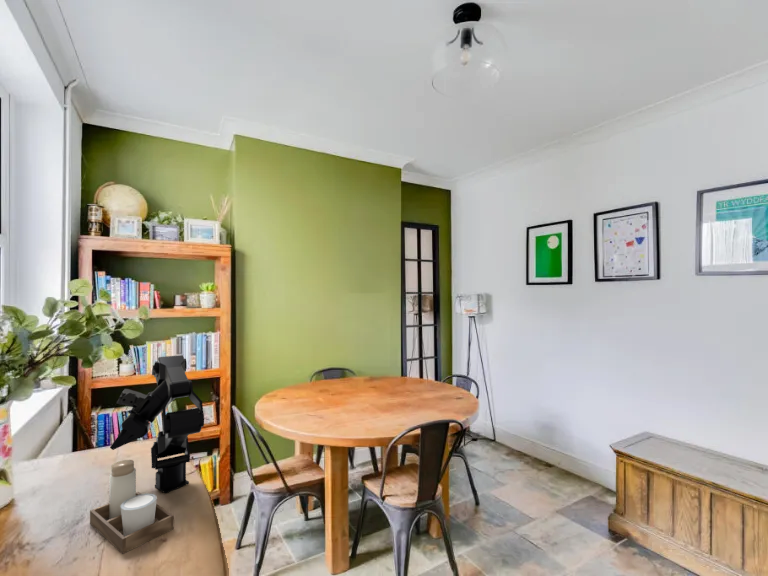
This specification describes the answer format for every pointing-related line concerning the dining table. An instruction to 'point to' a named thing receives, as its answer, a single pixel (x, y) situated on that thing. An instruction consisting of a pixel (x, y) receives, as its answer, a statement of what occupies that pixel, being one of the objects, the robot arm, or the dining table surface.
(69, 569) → the dining table surface
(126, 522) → the white cup
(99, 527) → the walnut caddy
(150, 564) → the dining table surface
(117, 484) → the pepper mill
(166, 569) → the dining table surface
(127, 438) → the robot arm
